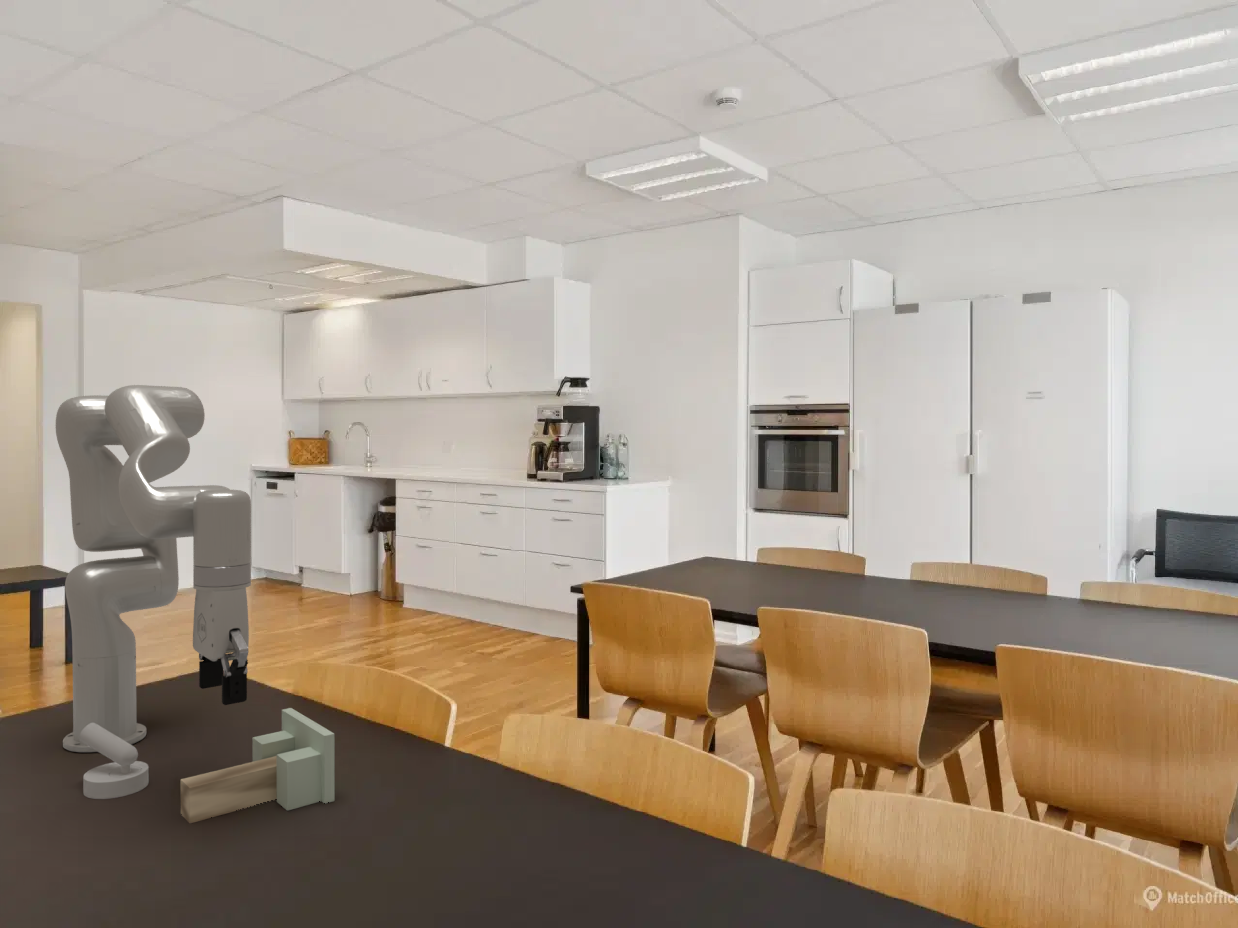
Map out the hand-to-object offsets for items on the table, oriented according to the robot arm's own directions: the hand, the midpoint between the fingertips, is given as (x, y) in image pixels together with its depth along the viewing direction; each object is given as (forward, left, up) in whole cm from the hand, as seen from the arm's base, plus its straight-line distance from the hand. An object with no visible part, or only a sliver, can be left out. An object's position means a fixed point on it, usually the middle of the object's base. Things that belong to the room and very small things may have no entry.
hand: (222, 694), depth 126 cm
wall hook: (-18, -10, -17) cm, 27 cm away
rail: (0, +3, -16) cm, 17 cm away
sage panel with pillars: (+1, +9, -16) cm, 19 cm away
